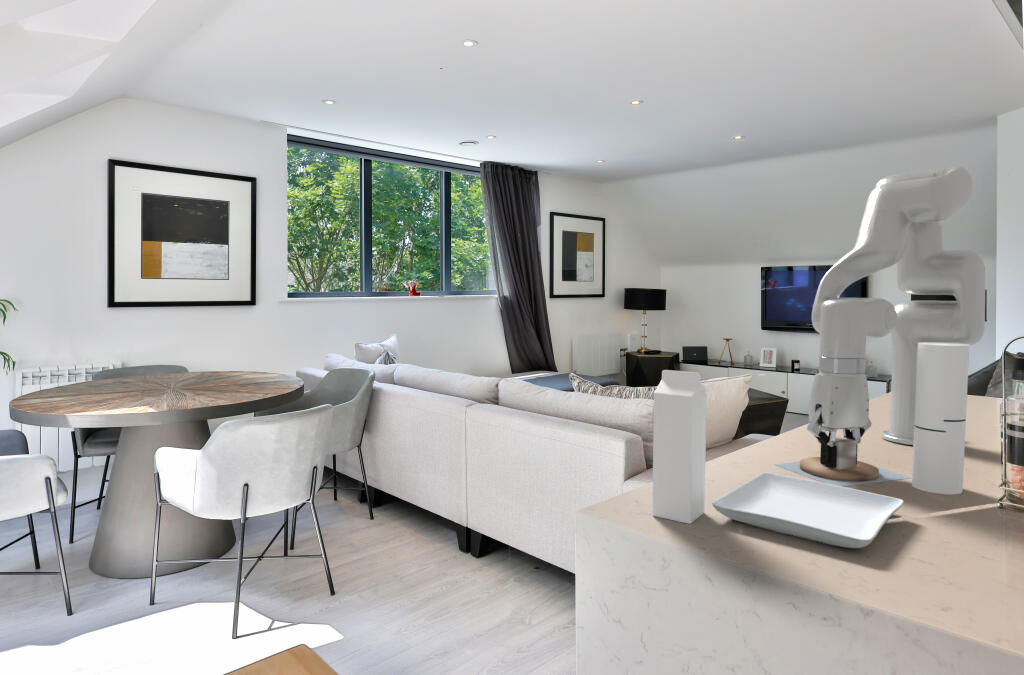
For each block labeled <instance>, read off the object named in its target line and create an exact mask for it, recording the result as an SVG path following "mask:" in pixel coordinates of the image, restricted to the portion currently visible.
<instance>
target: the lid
mask: <svg viewBox="0 0 1024 675" xmlns="http://www.w3.org/2000/svg"><path fill="white" fill-rule="evenodd" d="M834 446H837V461H836V467H835V468H831V467H828V466H825V465H822V464H821V463H820V456H811V457H805V458H802V459H801V460H800V461H799V462H800V469H801V470H802V471H804V472H806V473H808V474H810V475H813V476H817V477H821V478H826V479H831V480H838V481H851V482H862V481H871V480H875V479H877V478H878V477H879V470H878V469H877V468H876V467H877V466H875V465H873V464H869V463H867V462H863V461H861V460H860V461H859V460H857V465H856V446H857V441H855V440H851V439H847V438H844V436H840V435H839V436H838V435H836V438H835V443H834Z"/></svg>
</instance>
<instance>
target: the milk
mask: <svg viewBox="0 0 1024 675" xmlns="http://www.w3.org/2000/svg"><path fill="white" fill-rule="evenodd" d="M707 396H708V395H707V390H706V388H705V387H704V386H703V385H702V383H701V374H700V372H696V371H684V370H683V371H681V370H672V369H671V370H670V369H663V370H662V371H661V380H660V382H659V384H658V385H657V387H656V389H655V390H654V392H653V438H652V439H653V445H652V446H653V448H652V452H653V455H652V517H657V518H660V519H664V520H671V521H675V522H680V523H684V524H687V525H691V524H692V523H693V522H694V521H696V520H697V519H698V518H700V516H703V514H705V504H706V503H705V499H706V498H705V497H706V495H705V494H706V493H705V492H706V490H705V489H706V451H707V450H706V449H707V448H706V445H707V444H706V440H707V439H706V438H707V433H706V432H707Z"/></svg>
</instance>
